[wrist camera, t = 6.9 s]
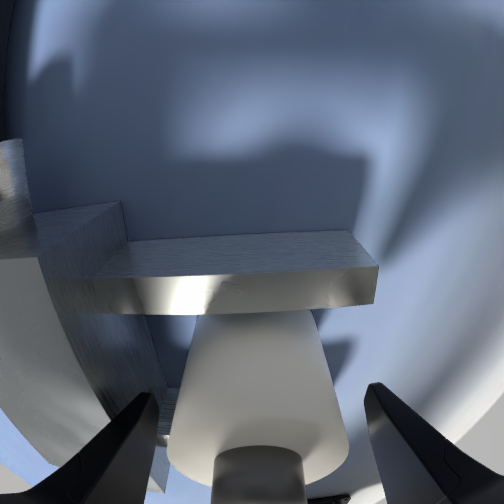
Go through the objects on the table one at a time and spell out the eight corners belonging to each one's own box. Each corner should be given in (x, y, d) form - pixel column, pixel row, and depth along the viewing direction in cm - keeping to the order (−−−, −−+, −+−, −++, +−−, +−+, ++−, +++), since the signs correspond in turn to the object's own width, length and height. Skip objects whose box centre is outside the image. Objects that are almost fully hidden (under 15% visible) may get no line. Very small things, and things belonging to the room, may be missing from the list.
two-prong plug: (324, 413, 14) (339, 490, 10) (77, 403, 15) (49, 463, 10) (348, 100, 9) (429, 81, 4) (-11, 157, 9) (-92, 185, 4)
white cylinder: (311, 372, 13) (339, 520, 6) (204, 377, 13) (183, 525, 6) (319, 279, 11) (385, 458, 4) (186, 285, 11) (126, 465, 4)
